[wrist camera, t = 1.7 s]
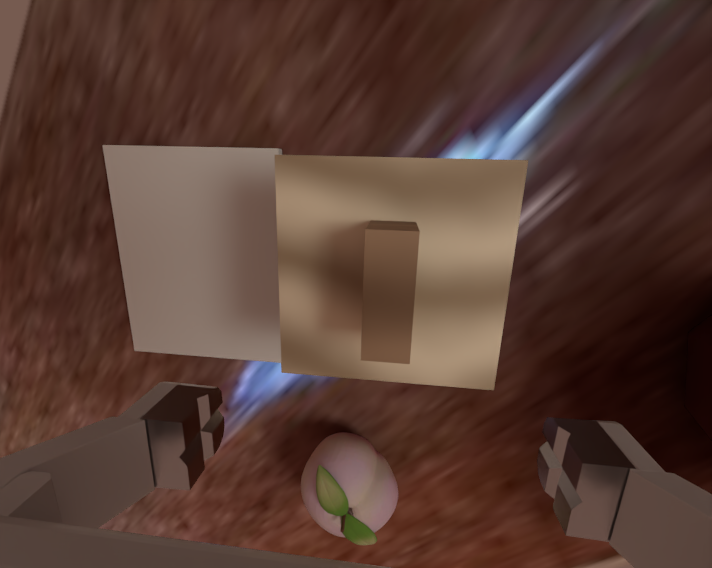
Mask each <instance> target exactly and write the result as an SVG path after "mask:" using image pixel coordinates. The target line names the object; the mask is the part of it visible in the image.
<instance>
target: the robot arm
mask: <svg viewBox="0 0 712 568" xmlns="http://www.w3.org/2000/svg"><path fill="white" fill-rule="evenodd" d="M221 404H222V394H221V390H220V389H219V388H218V387H211V386H202V385H193V384H184V383H182V384H181V383H175V382H160V383H159V384H157V385H156V386H155V387H154V388H152V389H151V390H150V391H149V392H148V393H146V394H145V395H144V396H143V397H142V398H140V399H139V400H138V401H137V402H136V403H134V404H133V405H132V406H131V407H130V408H128V409H127V410H126V411H125V412H123V413H122V414H121V415H120V416H119V417H110V418H107V419H104V420H101V421H99V422H96V423H93V424H91V425H88V426H85V427H83V428H80V429H77V430H75V431H72V432H69V433H67V434H64V435H61V436H59V437H56V438H53V439H51V440H48V441H45V442H42V443H40V444H37V445H34V446H32V447H29V448H26V449H24V450H21V451H18V452H16V453H13V454H10V455H8V456H5V457H2V458H0V568H390V567H383V566H375V565H368V564H360V563H353V562H345V561H338V560H330V559H322V558H315V557H307V556H300V555H292V554H285V553H277V552H270V551H262V550H255V549H247V548H240V547H232V546H225V545H217V544H210V543H203V542H195V541H188V540H180V539H173V538H165V537H158V536H150V535H143V534H136V533H128V532H121V531H113V530H106V529H98V528H99V527H100V526H102V525H103V524H105V523H106V522H108V521H109V520H111V519H112V518H114V517H115V516H117V515H118V514H119V513H121V512H122V511H124V510H125V509H127V508H128V507H130V506H131V505H133V504H134V503H135V502H137V501H138V500H140V499H141V498H143V497H144V496H146V495H147V494H149V493H150V492H152V491H153V490H154V489H155V487H157V488H169V489H180V490H191V488H192V487H193V485H194V484H195V482H196V481H197V479H198V478H199V476H200V475H201V473H202V472H203V471H204V469H205V466H204V461H205V460H206V459H208V458H210V457H212V456H213V455H214V454H215V453H216V451H217V450H218V448H219V446H220V443H221V440H222V438H223V433H224V417H223V416H222V414H221V413H220V412H219V410H218V408H219V406H220V405H221ZM542 433H543V434H544V436H545V438H546V440H547V442H546V443H544V444H543V445H542V446H541V447H540V448H539V452H538V459H537V463H538V474H539V478H540V481H541V484H542V486H543V488H544V491H545V492H546V493H548V494H549V495H550V496H551V497H552V498H554V499H555V500H554V504H553V510H554V512H555V514H556V516H557V518H558V520H559V522H560V524H561V526H562V528H563V531H564V533H565V535H566V536H573V537H580V538H587V539H593V540H600V541H607V542H610V543H609V544H610V545H611V546H612V547H613V548H614V549H615V550H616V551H617V552H618V553H619V554H620V555H622V556H623V557H624V558H625V559H626V560H627V561H628V562H629V563H630V564H631V565H632V566H633V567H634V568H712V494H710V493H709V492H707V491H705V490H703V489H701V488H700V487H698V486H696V485H694V484H692V483H690V482H689V481H687V480H685V479H683V478H681V477H680V476H678V475H676V474H674V473H667V472H665V471H664V470H663V469H662V468H661V467H660V466H659V465H658V464H657V462H656V461H655V460H654V459H653V458H652V457H651V456H650V455H649V454H648V453H647V452H646V451H645V450H644V448H643V447H642V446H641V445H640V444H639V443H638V442H637V441H636V440H635V439H634V438H633V437H632V435H631V434H630V433H629V432H628V431H627V430H626V429H625V428H624V427H623V426H622V425H621V424H619V423H617V422H615V421H599V420H579V419H564V418H549V417H547V419H546V421H545V422H544V426H543V431H542Z"/></svg>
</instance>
